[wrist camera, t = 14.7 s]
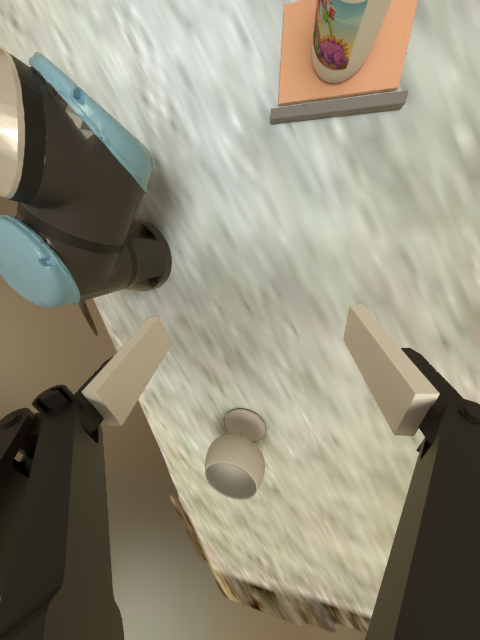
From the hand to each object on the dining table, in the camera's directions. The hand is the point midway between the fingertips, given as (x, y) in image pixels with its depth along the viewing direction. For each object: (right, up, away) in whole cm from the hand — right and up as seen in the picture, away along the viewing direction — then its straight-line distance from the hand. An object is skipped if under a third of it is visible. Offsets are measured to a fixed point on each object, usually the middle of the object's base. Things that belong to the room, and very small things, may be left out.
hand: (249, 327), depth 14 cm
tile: (+13, +38, +13) cm, 42 cm away
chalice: (+1, -29, +43) cm, 52 cm away
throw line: (+13, +32, +16) cm, 37 cm away
